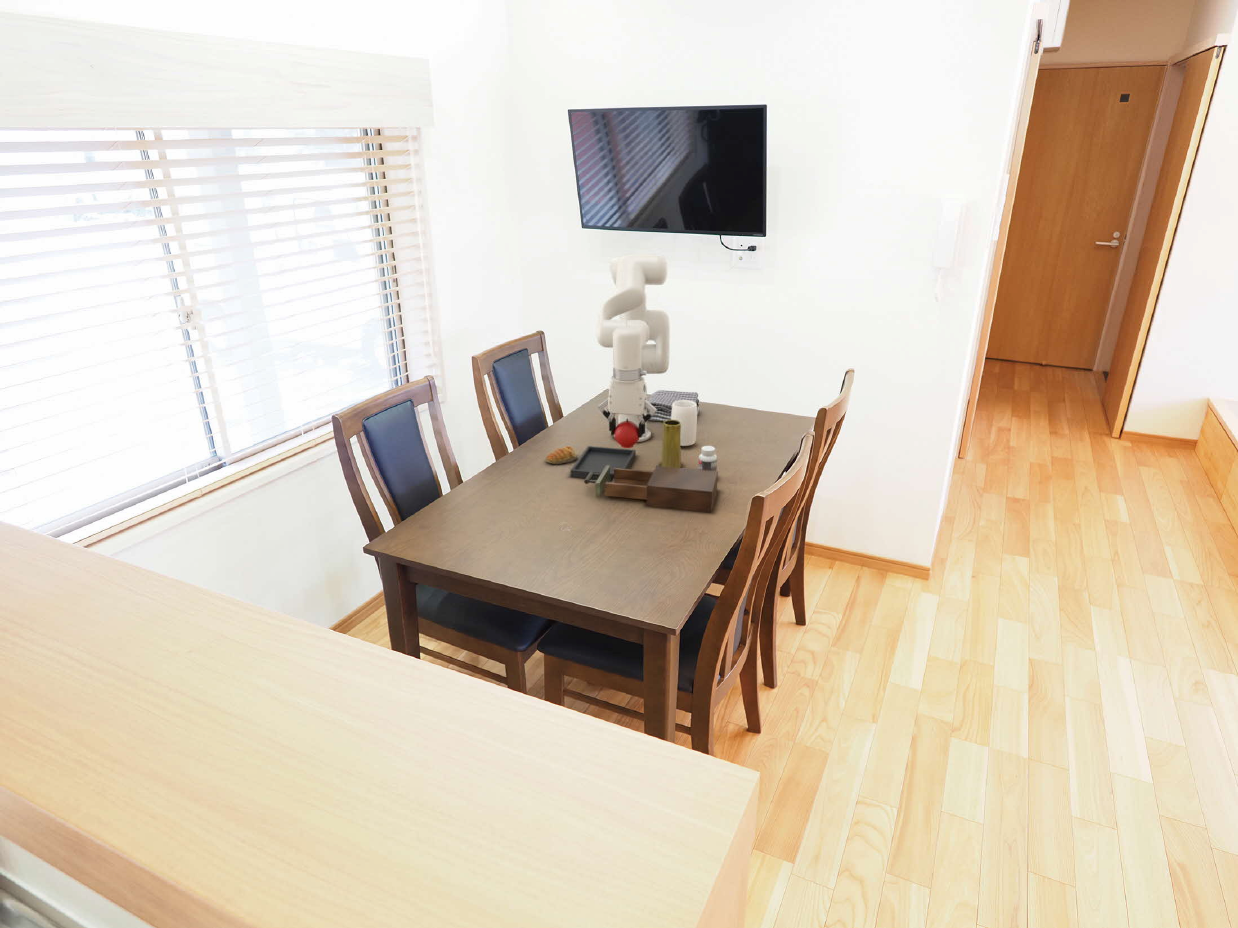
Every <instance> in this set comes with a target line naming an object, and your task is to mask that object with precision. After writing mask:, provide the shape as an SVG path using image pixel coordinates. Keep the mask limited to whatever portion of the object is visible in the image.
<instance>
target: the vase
mask: <svg viewBox="0 0 1238 928" xmlns="http://www.w3.org/2000/svg"><path fill="white" fill-rule="evenodd" d="M662 425H663V426H662V427H663V428H662V451H661V463H660V466H663V467H675V468H682V455H681V454H682V453H681V452H682V451H681V445H680V435H681V422H680V421H678V420H666V421H663V424H662Z"/></svg>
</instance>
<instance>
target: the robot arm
mask: <svg viewBox="0 0 1238 928" xmlns="http://www.w3.org/2000/svg"><path fill="white" fill-rule="evenodd" d="M609 263H610V265H609V271H610V275H611V279H612V281H613V284H614V285H615V289H614V290H615V292H614V293H612V294H611V295H610V296H609V297H608V298H607V299H606V300H605V301H604V302H603V304H601V306H600V309H599V311H598V314H597V323H596V324H597V325H596V340H597V342H598V344H599V346H601V347H603V348H610V349H612V372H613V373H612V375H611V377H610V381H609V386H608V387H609V388H608V397H607V398H606V399H605V400H604V401H602V402H601V403H599V405H598V406H597V409H598V410H599V411H600V412H601V413H602V415H603V416H604V417H605V418H606V419H607V422H608V430H609V432H610V436H613V438H615V436H614V431H615V428H616V427H617V425H618V424H619V423H621V422H623V421H626V419H628V421H631V422H634V423H635V424H636V425H637V426H638V427H639V440H638V442H637V443H641V442H645V441H647V440H649V439H650V438H651V437H652V432H651V431H650V429H648V428H647V426H648V425H647V424H648V423H647V422H648V421H650V420H649V419H650V418H651V417H652V416H653V415H654V414H655V412H656V411H657V409H656V408H655V407H654V406H652V405H651V404H650V403H649V402H648V386H647V383H646V381H645V378H644V377H643V376H647V375H661V374H665V373H666V372H668V370H669V367H670V337H671V336H670V332H671V329H670V328H671V327H670V326H671V325H670V318H669V315H668V314H667V312H666V311H664V310H661V309H647V292H646V285H647V286H661V285H662V286H663V285H664V284H665V283H666V280H667V277H668V262H667V260H666V258H665V257H664V255H662V254H656V253H653V254H651V253H647V254H645V253H632V254H631V253H630V254H626V255H623V256H617V257H614V258H613V259H611V260H610V262H609ZM617 316H619V319H613V318H615V317H617ZM649 341H653V342H654V343H648V342H649ZM606 406H607V408H606ZM647 409H648V410H649V411H650V412H649V413H648V414H647ZM616 415H617V419H616V417H615V416H616Z"/></svg>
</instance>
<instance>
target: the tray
mask: <svg viewBox="0 0 1238 928" xmlns="http://www.w3.org/2000/svg"><path fill="white" fill-rule="evenodd" d="M636 452H637V450H636V449H630V448H615V447H606V446H605V447H604V446H592V445H587V447H586V448H585V449H584V451H583V452H582V454H580V456H579V458H578V459H577V461H576V462H575V464H574V465H573V466H572V468H571V469H570V478H578V479H586V477H587V476H588V474H589V473H590V472H591V471H592V472H594V473H598V474H601V473H602V472H603V470H604V468H605V467H606V465H609V466H610V481H609V482H612V481H613V479H614V468H621V469H631V466H632V464H633V462H634V460H635V459H636V456H637V455H636V454H637V453H636ZM598 478H599V476H593V477H592V479H591V480H596V481H597V480H598Z"/></svg>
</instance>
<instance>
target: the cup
mask: <svg viewBox="0 0 1238 928" xmlns="http://www.w3.org/2000/svg"><path fill="white" fill-rule="evenodd" d="M671 420H678V421H680V422H681V435H680V445H681V446H682V447H685V446H691V445H695V443H696V440H697V431H698V430H697V428H698V414H697V404H696V403H695V402H693V401H689V400H679V401H675V402H673V404H672V413H671Z"/></svg>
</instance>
